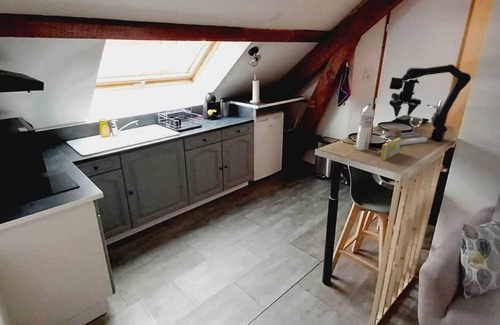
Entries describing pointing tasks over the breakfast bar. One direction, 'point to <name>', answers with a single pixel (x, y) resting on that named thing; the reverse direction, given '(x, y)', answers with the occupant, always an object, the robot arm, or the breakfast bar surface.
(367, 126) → the water bottle
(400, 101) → the robot arm
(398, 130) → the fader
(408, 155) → the breakfast bar surface
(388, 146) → the candy box
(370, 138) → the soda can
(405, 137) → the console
